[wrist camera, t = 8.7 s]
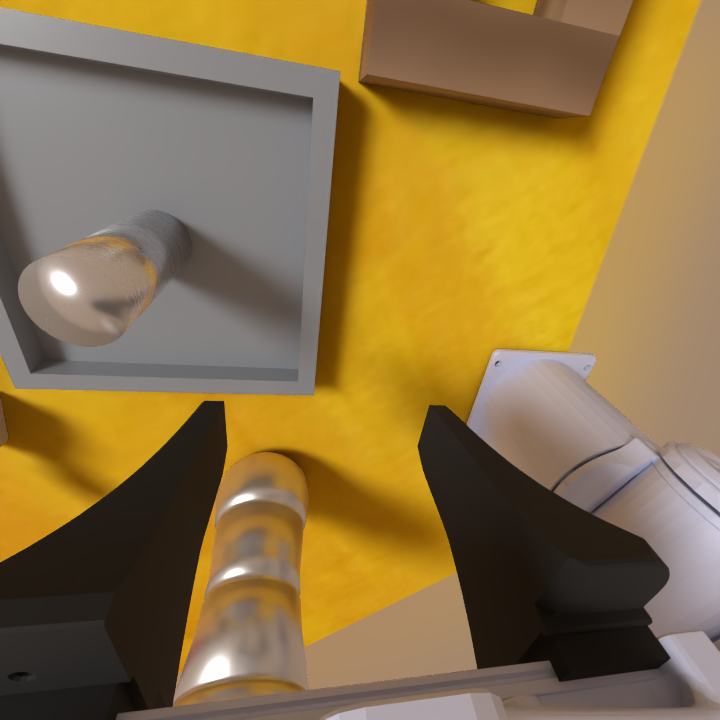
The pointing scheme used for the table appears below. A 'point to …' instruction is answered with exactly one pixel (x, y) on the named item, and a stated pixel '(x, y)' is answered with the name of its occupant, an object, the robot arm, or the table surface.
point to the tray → (168, 202)
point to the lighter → (2, 427)
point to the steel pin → (104, 278)
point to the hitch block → (494, 51)
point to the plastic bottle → (252, 588)
